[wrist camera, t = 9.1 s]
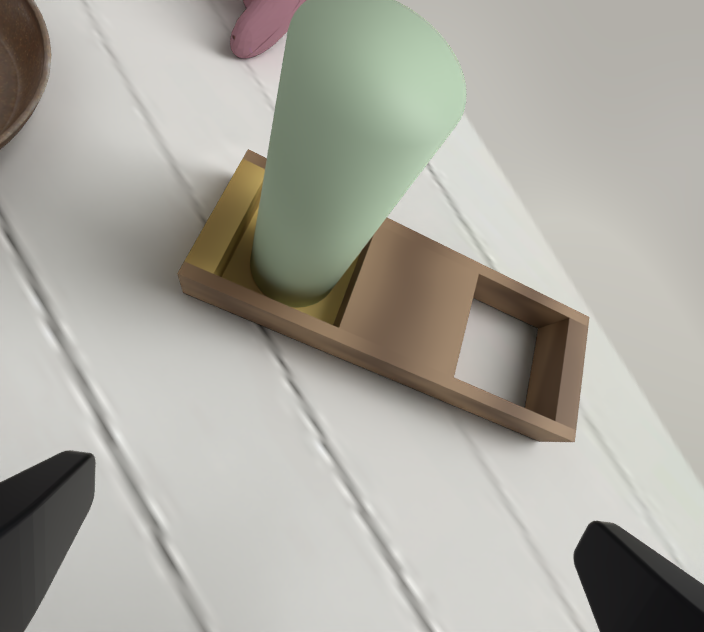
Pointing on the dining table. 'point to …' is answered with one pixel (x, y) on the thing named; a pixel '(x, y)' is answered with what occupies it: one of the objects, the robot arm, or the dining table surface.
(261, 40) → the video game controller
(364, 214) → the peg
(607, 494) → the dining table surface
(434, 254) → the wooden compartment tray
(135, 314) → the dining table surface
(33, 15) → the saucer
